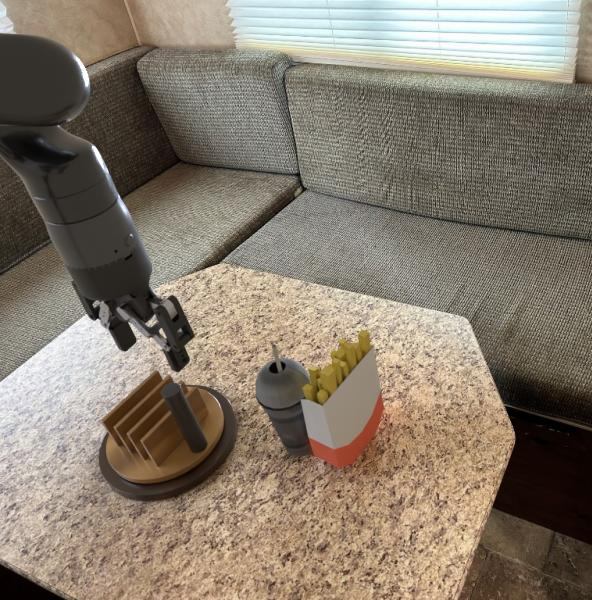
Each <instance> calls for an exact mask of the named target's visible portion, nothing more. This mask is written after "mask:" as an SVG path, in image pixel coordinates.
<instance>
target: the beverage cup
mask: <svg viewBox="0 0 592 600" xmlns="http://www.w3.org/2000/svg"><path fill="white" fill-rule="evenodd" d="M271 348H272V352H273V355H274V359H272V360H270V361H268V362H267V363H265V364H264V365H263V366H262V367H261V369H260V370H259V371H258V373H257V376H256V379H255V383H254V384H255V385H254V386H255V399H256V401H257V403H258V404H259V405H260V406H261V408H262V409H263V411H264V412H265V413H266V414H267V416H268V419H269V420H270V423H271V424H272V426H273V428H274V430H275V432H276V433H277V436H278V438H279V439H280V441H281V444H282V445H283V447H284V448H285V450H286V452H287V453H288V455H290V456H293V457H305V456H307V455H309V454H311V453H313V451H312V447H311V444H310V441H309V438H308V433H307V428H306V423H305V418H304V414H303V409H302V404H301V399H306V397H305V395H304V392H303V389H302V388H303V387H304V386H305V385H306V384H309V385H310V386H311V382H310V376H309V372H308V371H307V370H306V368H305V367H304V365H302V364H301V363H300V362H298V361H296V360H295V359H292V358H288V357H280V356H279V351H278V348H277V344H271Z"/></svg>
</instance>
